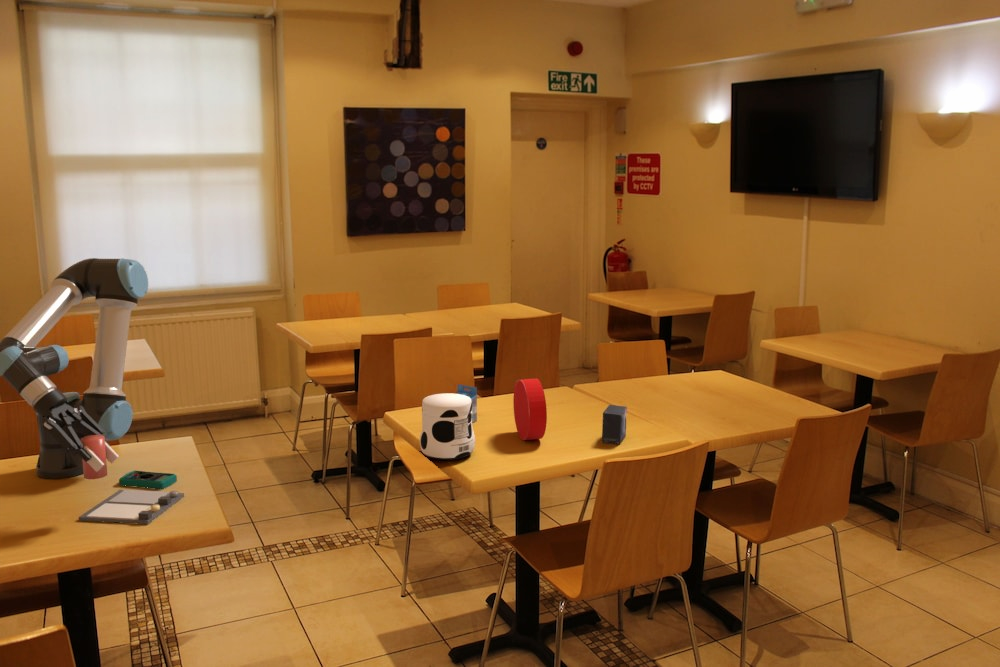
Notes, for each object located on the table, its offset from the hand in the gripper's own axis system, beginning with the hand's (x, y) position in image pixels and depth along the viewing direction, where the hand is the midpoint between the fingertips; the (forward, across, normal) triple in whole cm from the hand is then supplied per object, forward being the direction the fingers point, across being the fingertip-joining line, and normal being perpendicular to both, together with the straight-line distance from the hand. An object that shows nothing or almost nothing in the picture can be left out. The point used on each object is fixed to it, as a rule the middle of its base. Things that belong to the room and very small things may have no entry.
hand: (107, 463), depth 222 cm
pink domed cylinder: (0, 0, -5) cm, 5 cm away
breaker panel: (+11, -8, -10) cm, 17 cm away
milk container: (+62, -64, +42) cm, 98 cm away
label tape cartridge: (+60, -100, +41) cm, 124 cm away
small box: (+97, -88, +79) cm, 153 cm away
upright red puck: (+78, -85, +59) cm, 129 cm away
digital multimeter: (+7, -25, -15) cm, 30 cm away
